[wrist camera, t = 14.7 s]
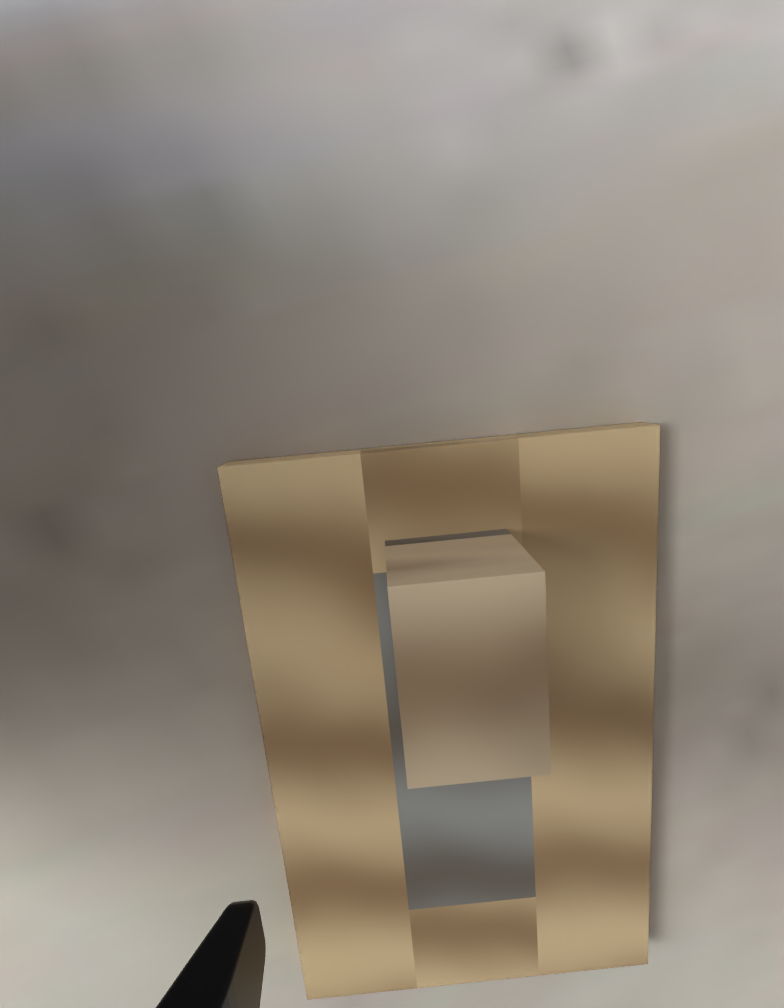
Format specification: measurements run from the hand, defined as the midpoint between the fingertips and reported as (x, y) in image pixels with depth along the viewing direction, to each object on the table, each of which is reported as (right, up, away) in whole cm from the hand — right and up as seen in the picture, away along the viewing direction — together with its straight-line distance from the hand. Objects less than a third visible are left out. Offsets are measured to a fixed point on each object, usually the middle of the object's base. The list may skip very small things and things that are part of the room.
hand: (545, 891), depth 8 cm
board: (0, -3, +12) cm, 12 cm away
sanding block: (0, +2, +10) cm, 10 cm away
